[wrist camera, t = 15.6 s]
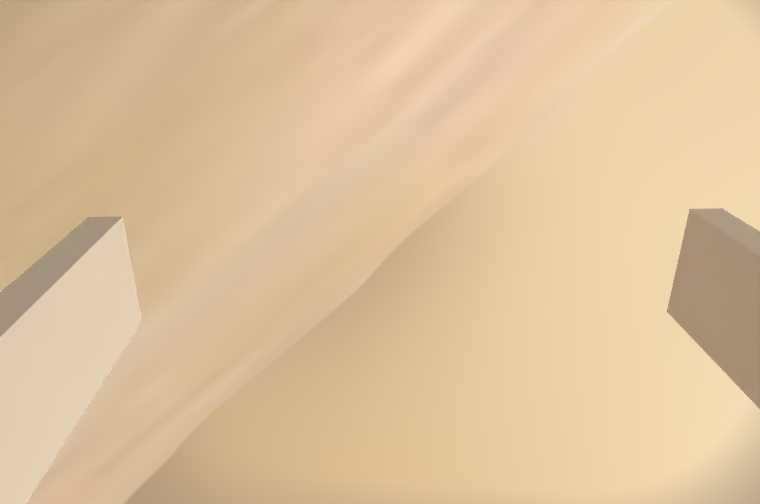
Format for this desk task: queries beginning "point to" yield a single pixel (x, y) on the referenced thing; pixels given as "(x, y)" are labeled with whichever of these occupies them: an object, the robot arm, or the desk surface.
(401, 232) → the desk surface
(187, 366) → the desk surface
